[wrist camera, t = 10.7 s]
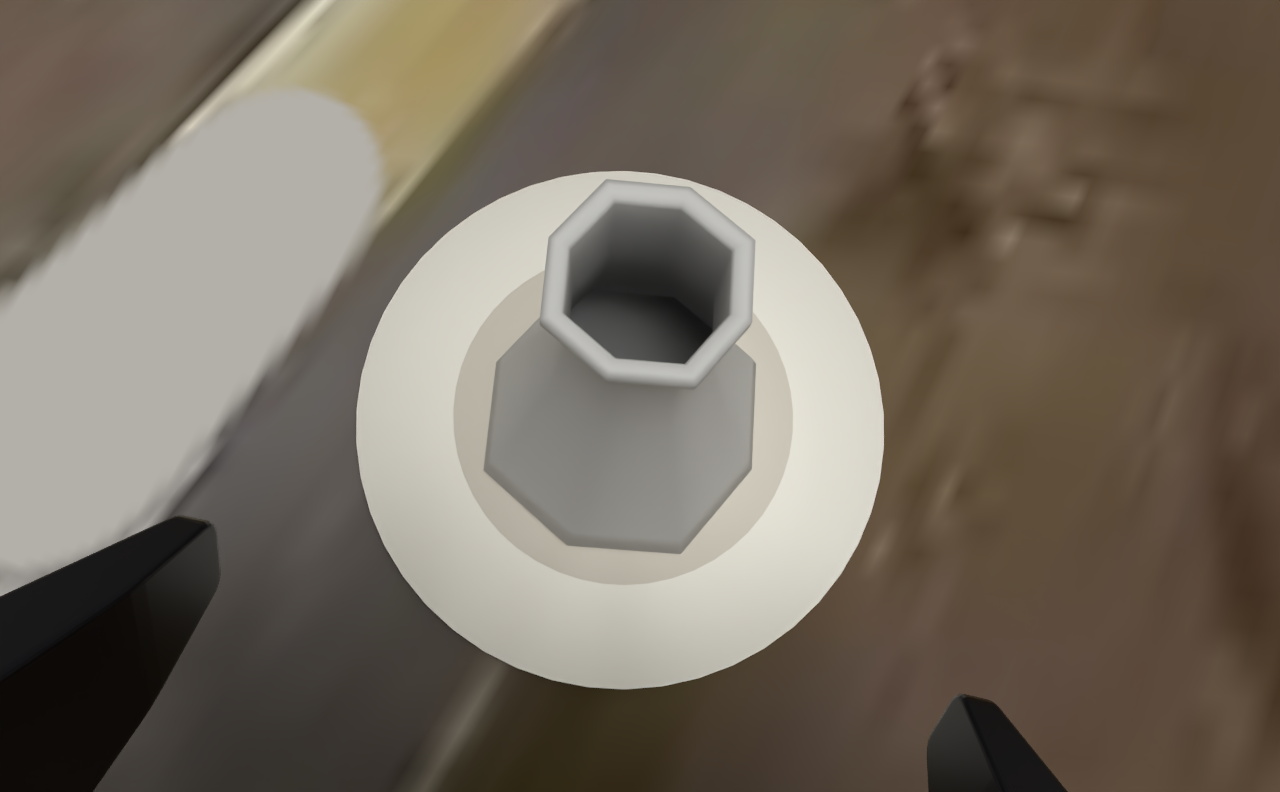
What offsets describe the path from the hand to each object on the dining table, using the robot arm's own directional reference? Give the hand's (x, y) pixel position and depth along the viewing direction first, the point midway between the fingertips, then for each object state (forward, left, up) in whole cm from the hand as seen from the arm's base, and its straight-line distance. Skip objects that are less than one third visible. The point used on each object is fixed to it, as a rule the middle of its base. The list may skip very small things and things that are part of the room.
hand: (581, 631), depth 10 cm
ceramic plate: (+4, +3, -12) cm, 13 cm away
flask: (+4, +3, -11) cm, 12 cm away
